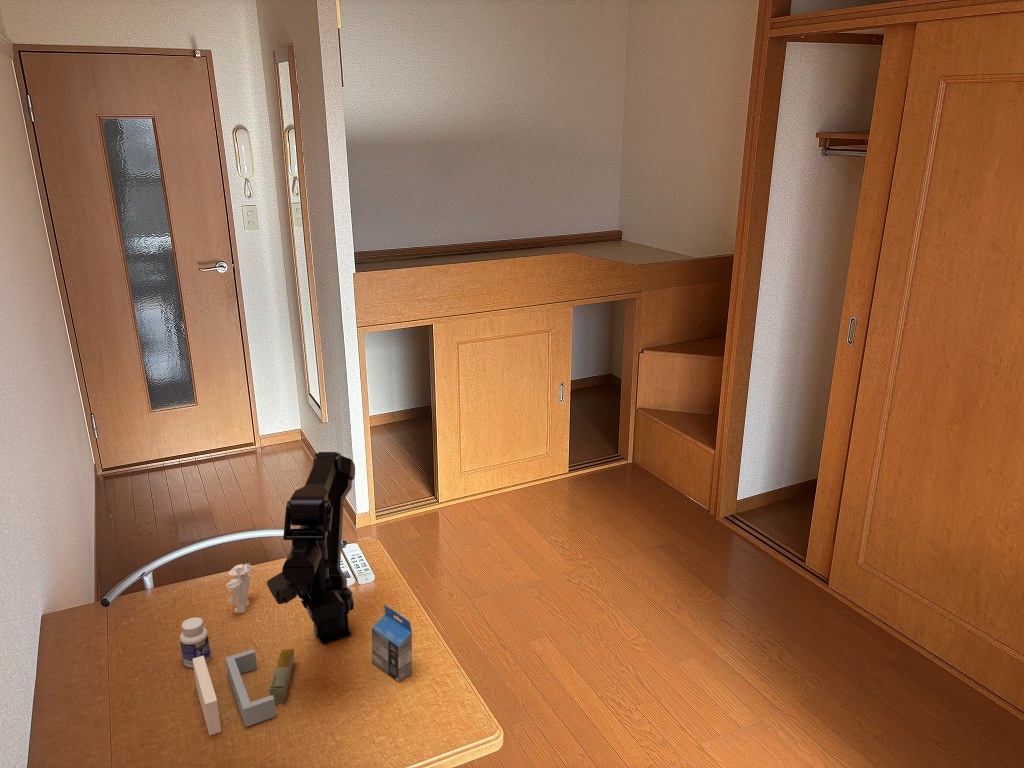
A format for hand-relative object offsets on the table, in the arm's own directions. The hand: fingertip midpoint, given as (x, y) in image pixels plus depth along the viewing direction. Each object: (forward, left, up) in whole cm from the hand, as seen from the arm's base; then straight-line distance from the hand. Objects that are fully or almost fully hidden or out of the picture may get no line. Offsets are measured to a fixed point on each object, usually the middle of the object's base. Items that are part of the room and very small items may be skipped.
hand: (317, 624), depth 148 cm
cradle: (+13, 0, -11) cm, 17 cm away
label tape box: (-13, +6, -11) cm, 18 cm away
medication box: (+8, 0, -12) cm, 14 cm away
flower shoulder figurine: (+9, -30, -11) cm, 33 cm away
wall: (+22, 0, -11) cm, 24 cm away
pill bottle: (+21, -16, -11) cm, 29 cm away
